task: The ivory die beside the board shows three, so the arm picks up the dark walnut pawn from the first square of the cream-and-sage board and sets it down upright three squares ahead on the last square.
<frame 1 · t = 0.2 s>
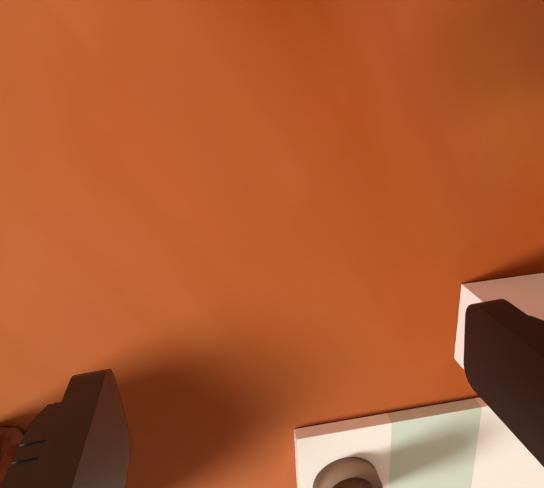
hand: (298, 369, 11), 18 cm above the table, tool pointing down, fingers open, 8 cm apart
wooden figurine: (21, 484, 32), on the table
die: (497, 316, 33), on the table
pawn: (345, 482, 35), point 1 cm above the table, touching game board
game board: (468, 448, 38), on the table
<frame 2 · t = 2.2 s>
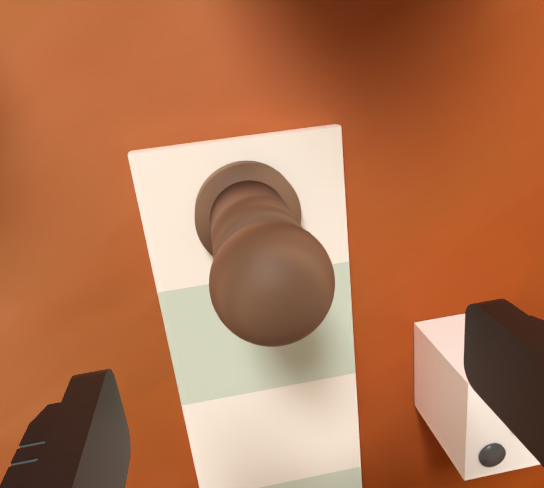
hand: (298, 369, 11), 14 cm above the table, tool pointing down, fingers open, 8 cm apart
die: (460, 356, 29), on the table
pawn: (246, 211, 23), point 1 cm above the table, touching game board
game board: (267, 378, 28), on the table
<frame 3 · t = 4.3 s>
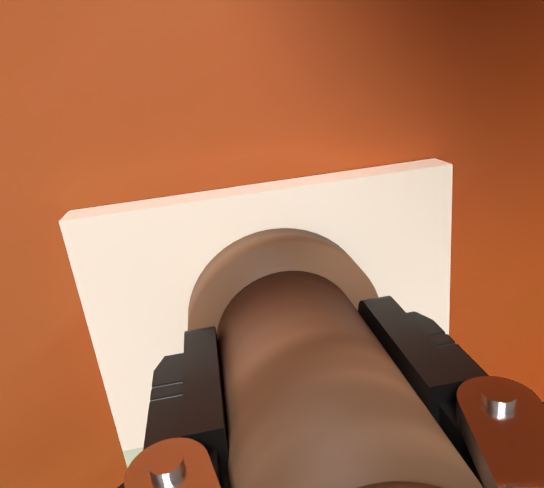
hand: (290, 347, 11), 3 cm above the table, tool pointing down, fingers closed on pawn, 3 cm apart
pawn: (279, 314, 13), point 1 cm above the table, touching game board, gripper
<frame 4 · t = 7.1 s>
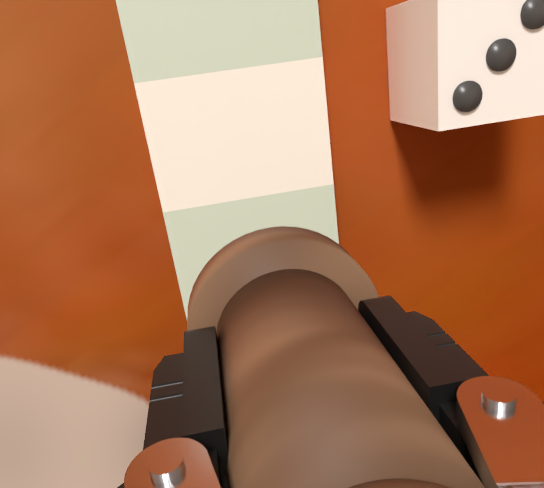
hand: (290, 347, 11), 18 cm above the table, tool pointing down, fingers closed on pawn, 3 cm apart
die: (437, 59, 27), on the table
pawn: (279, 313, 13), point 16 cm above the table, touching gripper
game board: (228, 70, 26), on the table
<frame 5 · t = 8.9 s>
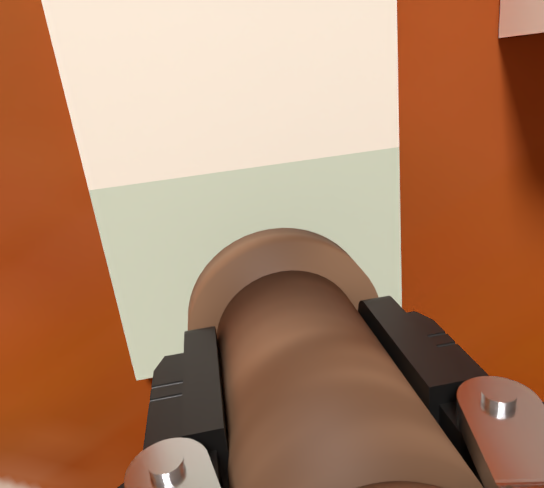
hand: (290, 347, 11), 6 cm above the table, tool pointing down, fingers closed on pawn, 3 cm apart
pawn: (279, 314, 13), point 4 cm above the table, touching gripper
when the fingers open (4 cm above the table, at t = 10.1 s): pawn stays where it is, resting on game board.
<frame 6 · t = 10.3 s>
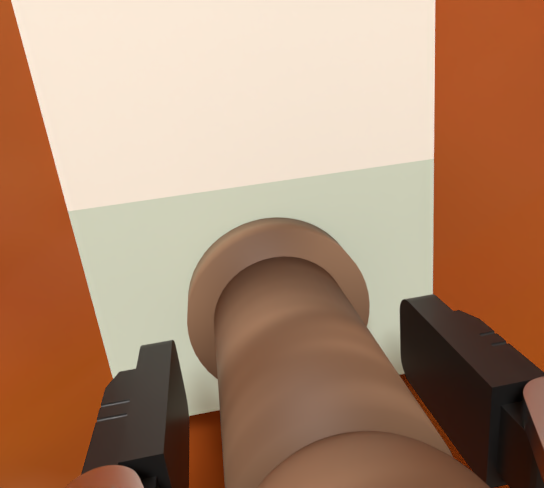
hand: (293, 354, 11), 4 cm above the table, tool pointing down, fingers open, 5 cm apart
pawn: (274, 298, 14), point 1 cm above the table, touching game board
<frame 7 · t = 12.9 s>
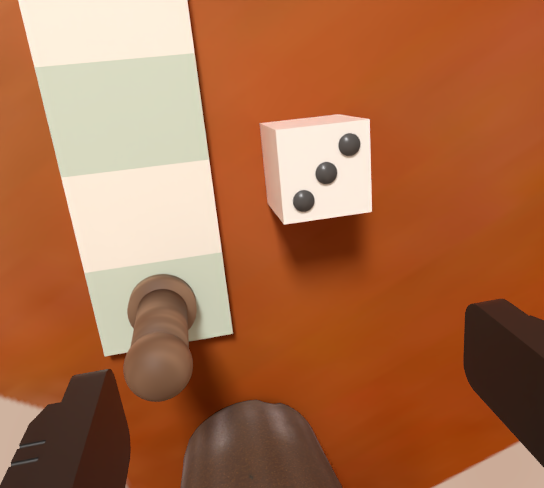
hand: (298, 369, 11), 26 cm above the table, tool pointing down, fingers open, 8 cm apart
die: (302, 159, 36), on the table
pawn: (162, 304, 36), point 1 cm above the table, touching game board
plant pot: (248, 451, 43), on the table
game board: (138, 166, 33), on the table
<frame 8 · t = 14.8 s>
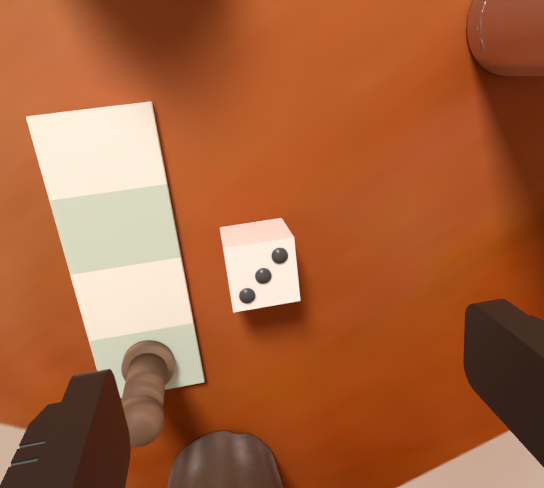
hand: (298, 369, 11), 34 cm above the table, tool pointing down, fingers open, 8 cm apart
die: (254, 251, 46), on the table
pawn: (149, 362, 47), point 1 cm above the table, touching game board
plant pot: (222, 469, 54), on the table
game board: (127, 262, 44), on the table
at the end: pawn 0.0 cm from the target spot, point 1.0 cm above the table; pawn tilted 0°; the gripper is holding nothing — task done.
